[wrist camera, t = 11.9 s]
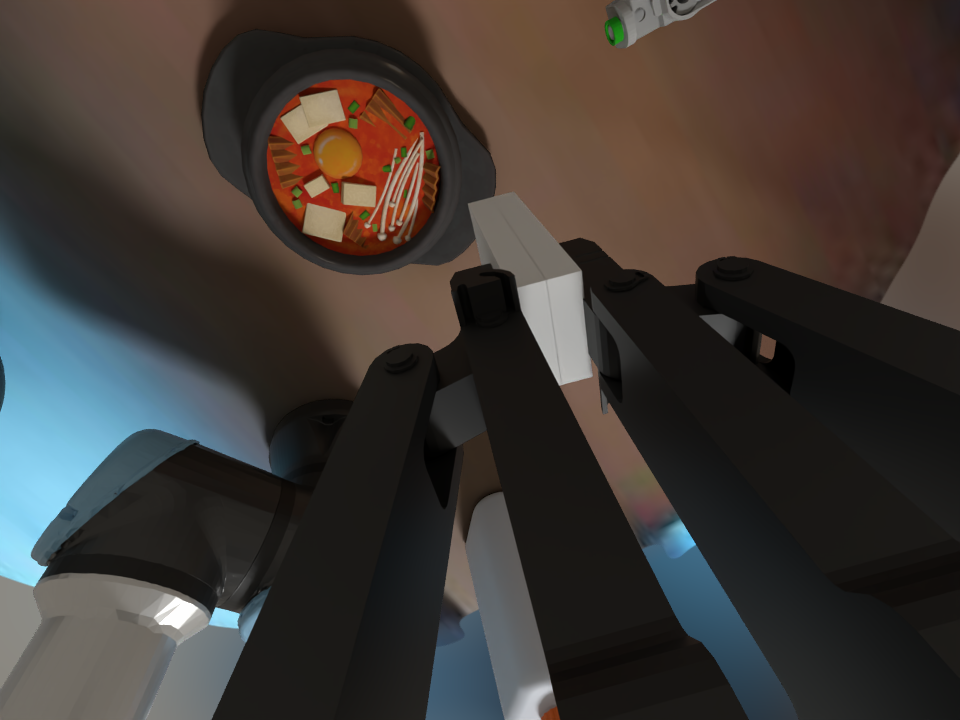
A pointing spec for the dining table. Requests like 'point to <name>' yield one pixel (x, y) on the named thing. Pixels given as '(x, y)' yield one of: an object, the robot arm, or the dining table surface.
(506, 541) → the plastic bottle
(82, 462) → the dining table surface
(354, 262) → the casserole
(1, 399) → the coal bowl
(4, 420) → the dining table surface
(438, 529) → the robot arm
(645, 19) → the mechanical component
